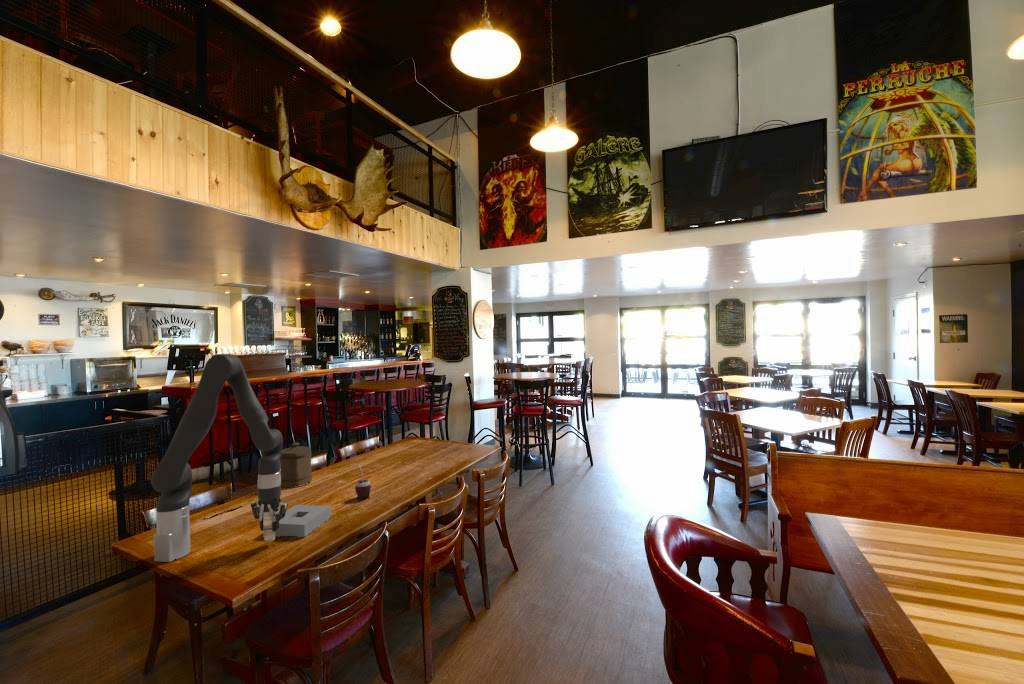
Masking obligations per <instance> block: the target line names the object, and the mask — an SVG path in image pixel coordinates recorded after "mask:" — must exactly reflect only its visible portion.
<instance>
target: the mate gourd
mask: <svg viewBox="0 0 1024 684" xmlns="http://www.w3.org/2000/svg"><path fill="white" fill-rule="evenodd" d="M358 467H359V469H360V470H359V471H360V476H361V480H358V481H357V482H356V483H355V488H354V491H355V494H356V496H357V497H356V498H357V499H358V500H361V501H362V500H364V499H363V498H369V499H370V493H371V489H372V485H371V482H370V481H369V480H368V479H364V478H363V477H364V476H363V470H362V468H361V465H360V464H358Z"/></svg>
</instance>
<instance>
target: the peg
mask: <svg viewBox="0 0 1024 684" xmlns="http://www.w3.org/2000/svg"><path fill="white" fill-rule="evenodd" d="M274 512H276V511H274ZM272 522H273V519H272V516H271V515H270V512H263V531H262V532H263V539H264V543H272V542H274V541H275V540H276V536H275V534H276V531H275V532H273V525H272Z"/></svg>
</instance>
